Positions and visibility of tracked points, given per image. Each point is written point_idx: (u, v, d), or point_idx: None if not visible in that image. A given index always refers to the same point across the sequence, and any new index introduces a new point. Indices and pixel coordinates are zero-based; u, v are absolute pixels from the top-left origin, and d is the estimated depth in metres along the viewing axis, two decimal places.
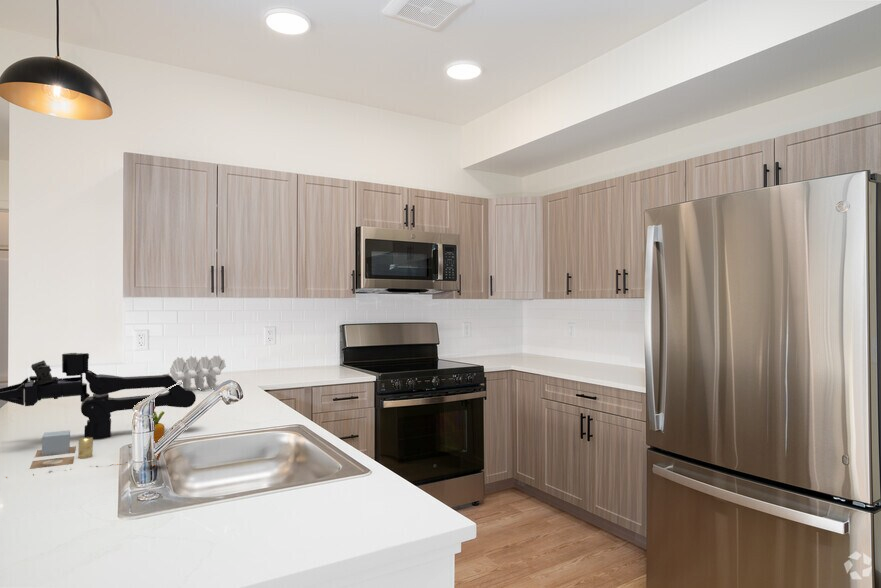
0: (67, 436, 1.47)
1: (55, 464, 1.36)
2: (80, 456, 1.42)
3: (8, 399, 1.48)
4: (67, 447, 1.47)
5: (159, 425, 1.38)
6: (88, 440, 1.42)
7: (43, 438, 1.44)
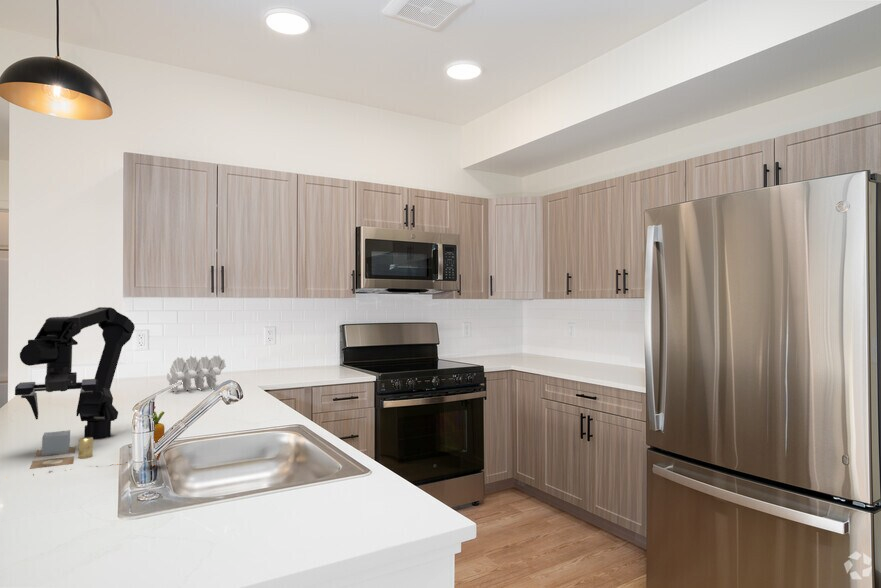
0: (67, 436, 1.47)
1: (55, 464, 1.36)
2: (80, 456, 1.42)
3: None
4: (67, 447, 1.47)
5: (159, 425, 1.38)
6: (88, 440, 1.42)
7: (43, 438, 1.44)
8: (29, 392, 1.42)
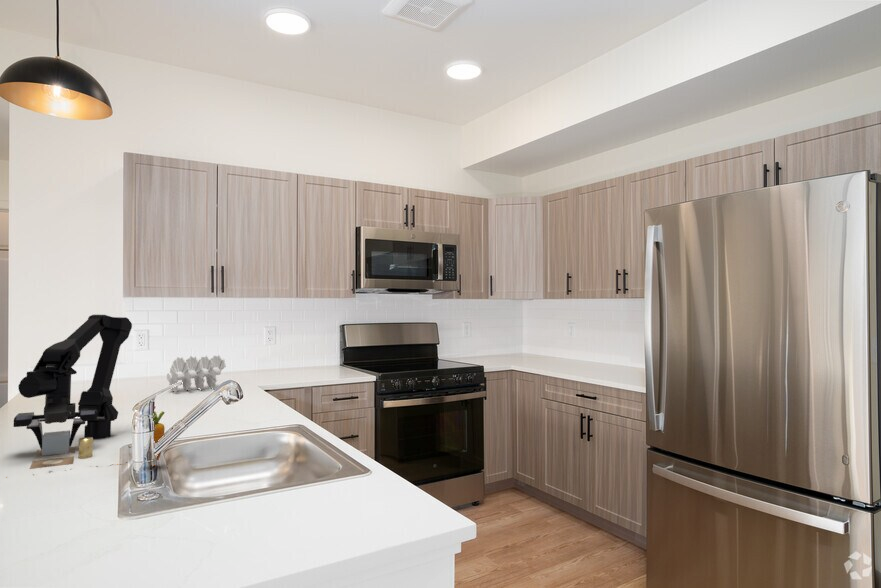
0: (67, 436, 1.47)
1: (55, 464, 1.36)
2: (80, 456, 1.42)
3: None
4: (67, 447, 1.47)
5: (159, 425, 1.38)
6: (88, 440, 1.42)
7: (43, 438, 1.44)
8: (28, 423, 1.42)
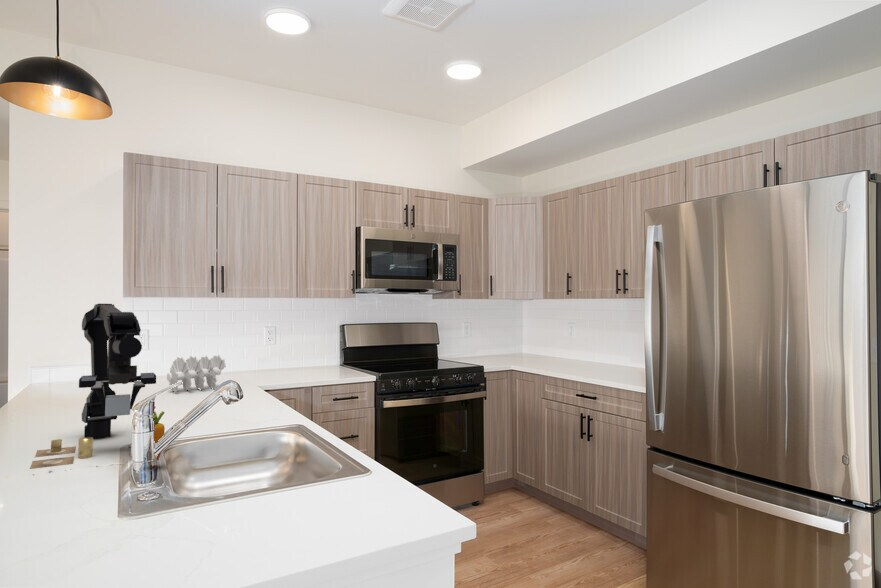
0: (128, 398, 1.50)
1: (55, 464, 1.36)
2: (80, 456, 1.42)
3: None
4: (128, 409, 1.50)
5: (159, 425, 1.38)
6: (88, 440, 1.42)
7: (106, 399, 1.47)
8: (92, 385, 1.45)
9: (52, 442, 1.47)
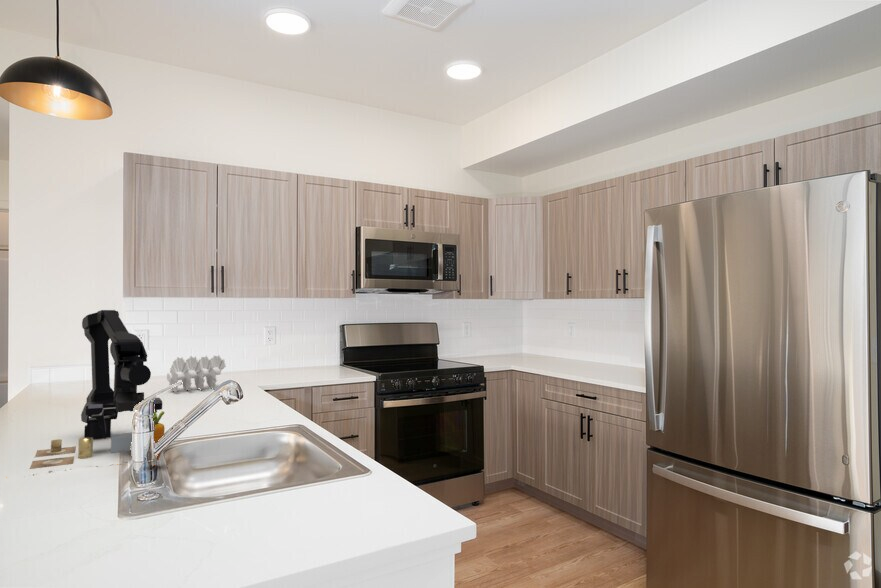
0: None
1: (55, 464, 1.36)
2: (80, 456, 1.42)
3: None
4: None
5: (159, 425, 1.38)
6: (88, 440, 1.42)
7: (112, 439, 1.47)
8: (99, 412, 1.46)
9: (52, 442, 1.47)
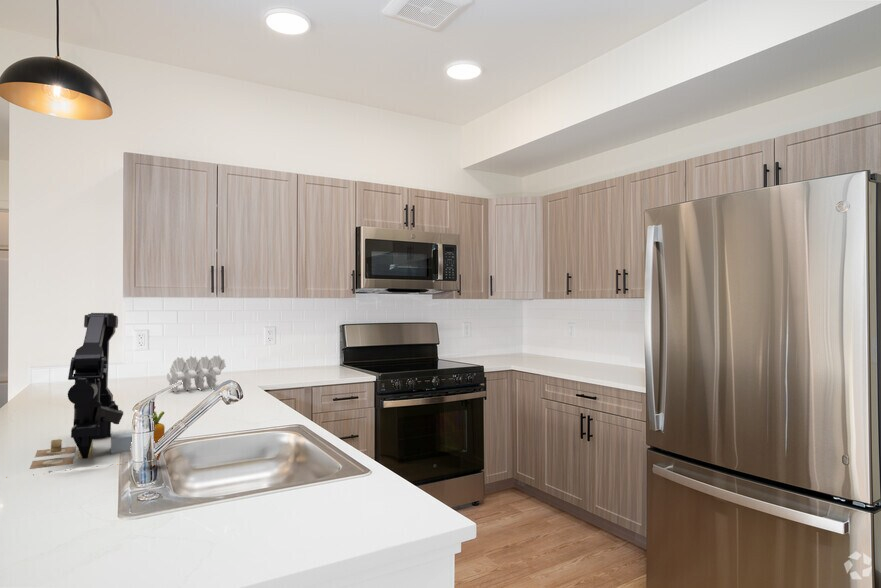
0: None
1: (55, 464, 1.36)
2: (80, 456, 1.42)
3: None
4: None
5: (159, 425, 1.38)
6: None
7: (112, 439, 1.47)
8: None
9: (52, 442, 1.47)
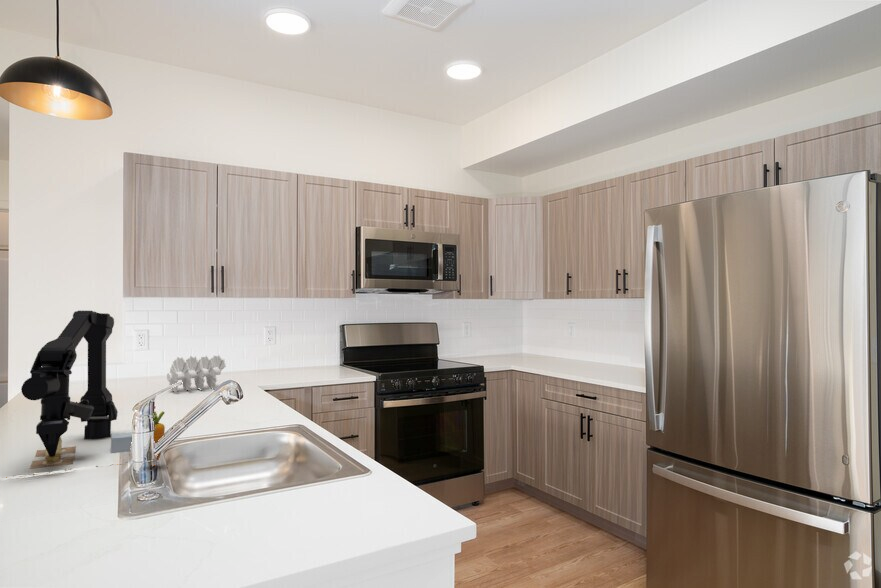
0: None
1: (55, 464, 1.36)
2: (47, 457, 1.36)
3: None
4: None
5: (159, 425, 1.38)
6: None
7: (112, 439, 1.47)
8: (67, 426, 1.34)
9: None
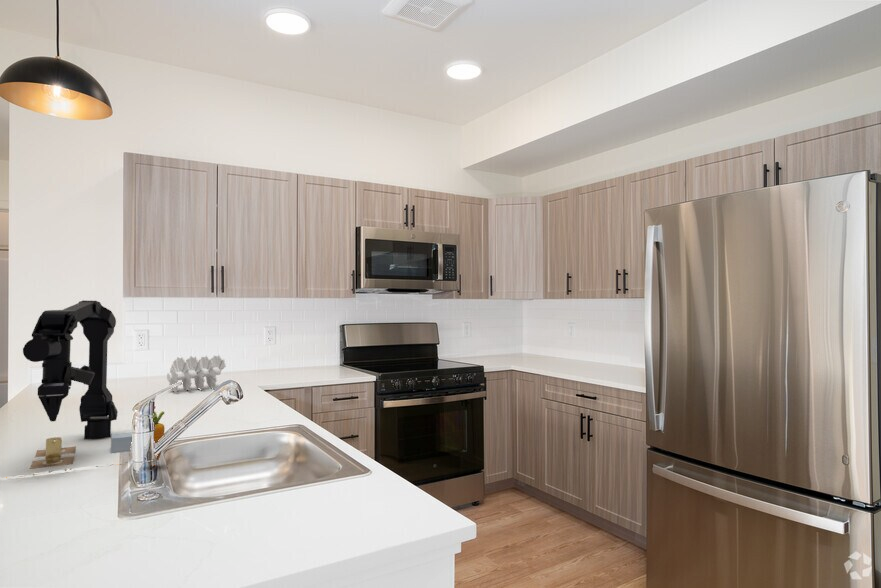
0: None
1: (55, 464, 1.36)
2: (47, 457, 1.36)
3: None
4: None
5: (159, 425, 1.38)
6: (56, 441, 1.37)
7: (112, 439, 1.47)
8: None
9: None
